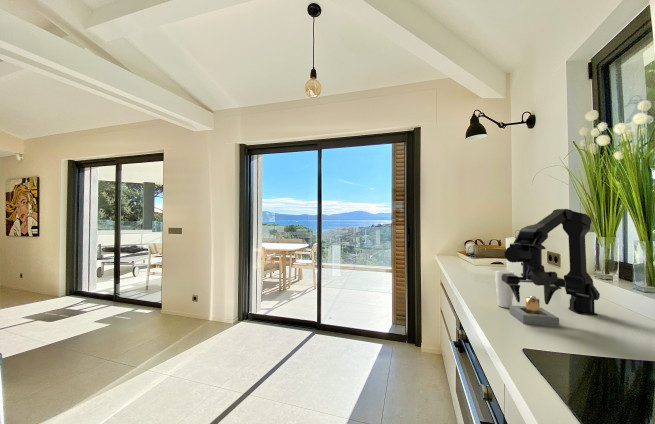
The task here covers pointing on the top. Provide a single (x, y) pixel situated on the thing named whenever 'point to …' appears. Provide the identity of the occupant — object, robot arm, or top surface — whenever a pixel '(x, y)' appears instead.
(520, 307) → the gray cradle
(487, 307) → the top surface
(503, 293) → the drinking glass
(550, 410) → the top surface
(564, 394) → the top surface
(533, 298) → the battery cell
